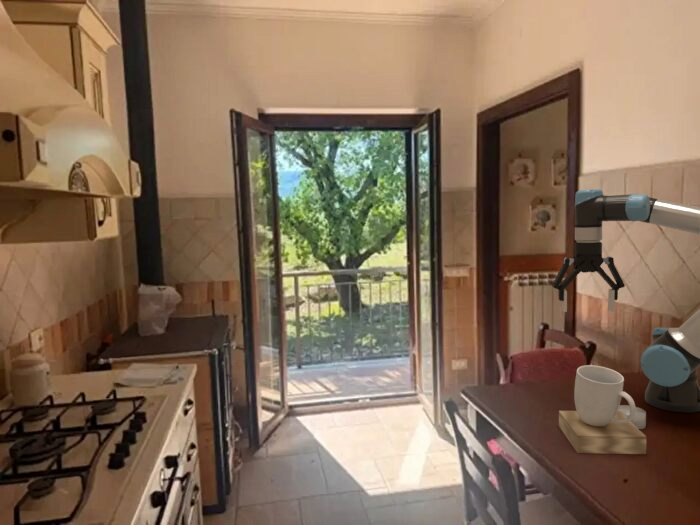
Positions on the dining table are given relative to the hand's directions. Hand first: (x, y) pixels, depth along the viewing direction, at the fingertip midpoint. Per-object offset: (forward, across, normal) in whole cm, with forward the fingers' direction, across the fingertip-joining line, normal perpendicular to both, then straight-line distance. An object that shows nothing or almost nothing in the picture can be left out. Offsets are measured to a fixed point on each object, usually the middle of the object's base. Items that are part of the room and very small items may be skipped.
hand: (587, 311), depth 156 cm
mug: (+24, +6, +27) cm, 36 cm away
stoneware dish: (+29, -6, +16) cm, 34 cm away
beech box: (+29, +5, +26) cm, 40 cm away
